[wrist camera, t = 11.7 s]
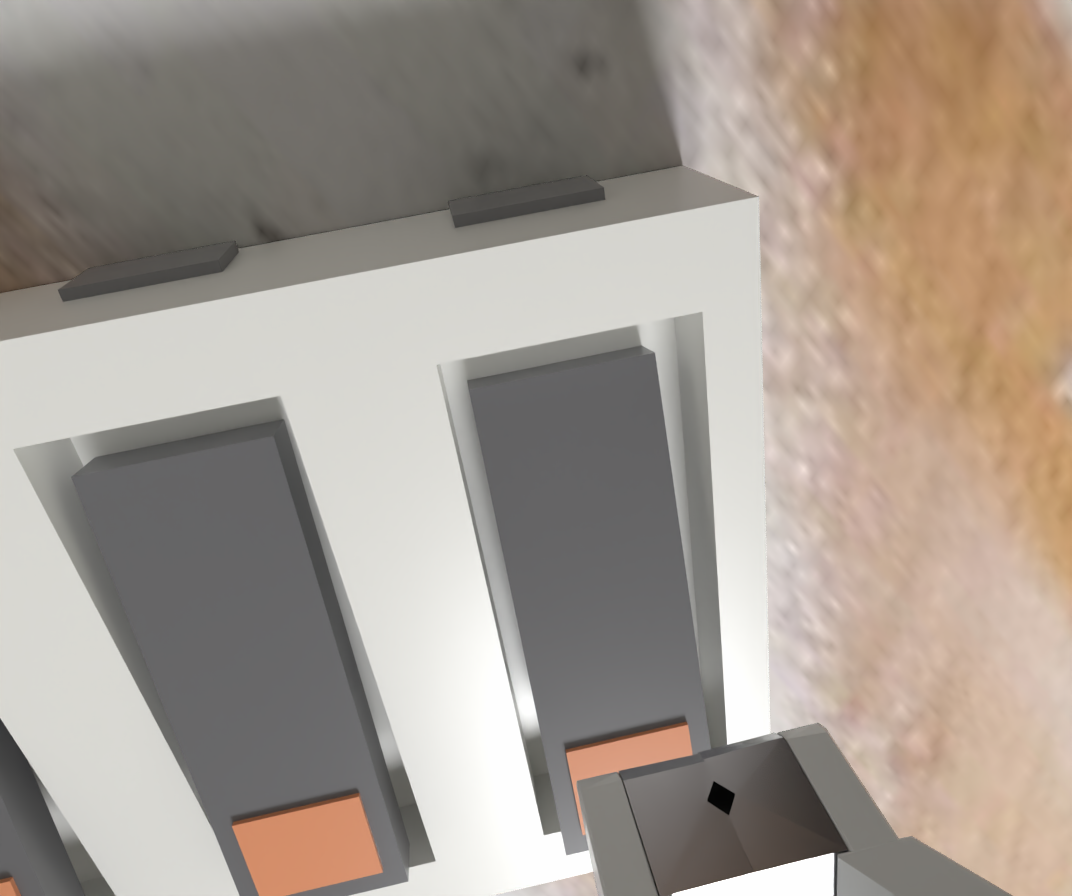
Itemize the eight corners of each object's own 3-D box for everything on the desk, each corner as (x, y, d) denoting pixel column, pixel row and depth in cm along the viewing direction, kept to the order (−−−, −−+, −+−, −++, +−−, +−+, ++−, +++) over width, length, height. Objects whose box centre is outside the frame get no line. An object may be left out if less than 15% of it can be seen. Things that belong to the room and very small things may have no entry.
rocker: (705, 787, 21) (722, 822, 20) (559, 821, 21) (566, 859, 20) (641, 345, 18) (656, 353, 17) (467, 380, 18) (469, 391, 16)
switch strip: (718, 713, 27) (772, 828, 23) (1, 879, 26) (-74, 1032, 22) (682, 154, 19) (758, 182, 15) (-392, 354, 17) (-634, 446, 13)
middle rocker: (409, 843, 21) (408, 885, 20) (259, 879, 21) (248, 923, 20) (284, 419, 17) (272, 437, 16) (95, 457, 17) (68, 479, 15)
